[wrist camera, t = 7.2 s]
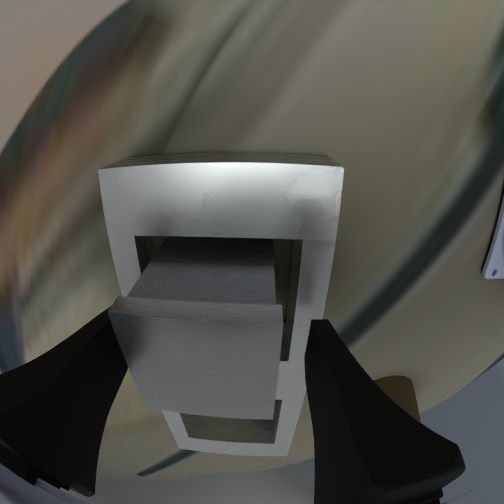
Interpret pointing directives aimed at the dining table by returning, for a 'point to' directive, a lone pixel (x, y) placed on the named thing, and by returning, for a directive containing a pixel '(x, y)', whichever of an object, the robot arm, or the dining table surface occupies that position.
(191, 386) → the grey rectangular block
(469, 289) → the dining table surface
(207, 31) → the dining table surface
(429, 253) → the dining table surface
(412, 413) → the cork
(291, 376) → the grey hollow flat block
